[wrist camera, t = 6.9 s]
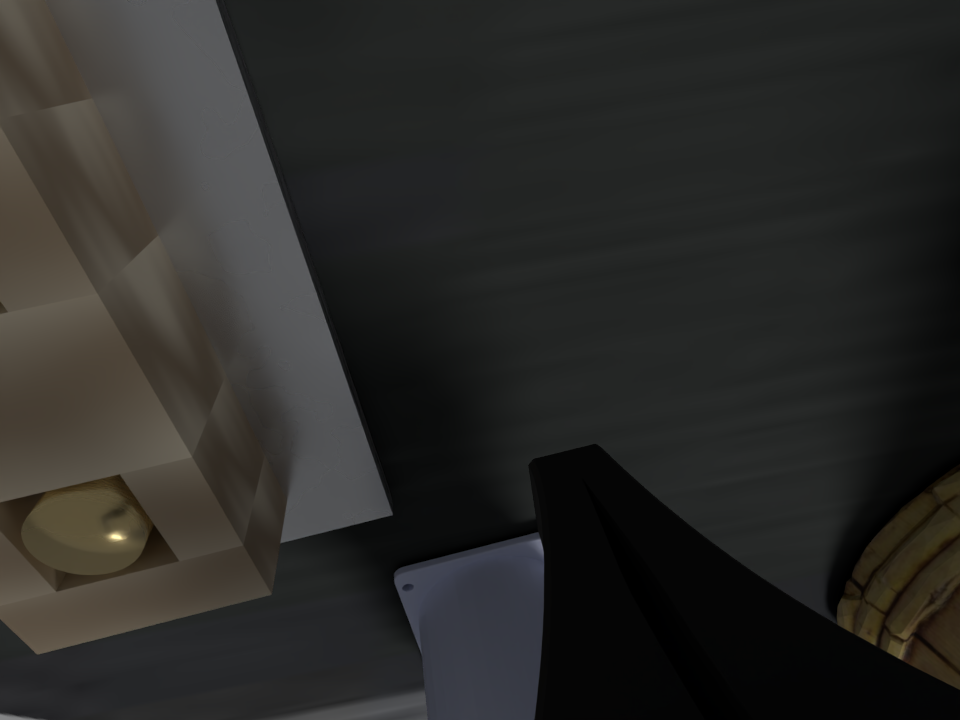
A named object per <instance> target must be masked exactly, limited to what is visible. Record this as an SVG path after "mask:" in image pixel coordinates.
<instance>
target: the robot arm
mask: <svg viewBox="0 0 960 720" xmlns="http://www.w3.org/2000/svg"><path fill="white" fill-rule="evenodd" d="M528 466H529V473H530V480H531V487H532V493H533V500H534V507H535V514H536V521H537V528H538V532H537V533H533V534H529V535H525V536H521V537H517V538H513V539H509V540H506V541H502V542H498V543H494V544H490V545H486V546H482V547H478V548H474V549H471V550H467V551H463V552H459V553H455V554H451V555H447V556H443V557H439V558H436V559H432V560H428V561H424V562H420V563H416V564H412V565H408V566H404V567H401V568H399V569H398V570H396V571H395V573H394V583H395V586H396V588H397V591H398V594H399V596H400V599H401V602H402V604H403V607H404V609H405V612H406V615H407V617H408V620H409V623H410V625H411V628H412V631H413V633H414V636H415V638H416V641H417V644H418V646H419V649H420V652H421V654H422V662H423V673H424V684H425V694H426V705H427V716H428V720H960V690H959V689H957V688H955V687H953V686H951V685H949V684H947V683H945V682H943V681H941V680H939V679H937V678H935V677H933V676H931V675H929V674H927V673H925V672H923V671H921V670H919V669H917V668H915V667H914V666H912V665H910V664H908V663H906V662H904V661H903V660H901V659H899V658H897V657H895V656H893V655H892V654H890V653H888V652H886V651H884V650H883V649H881V648H879V647H877V646H875V645H873V644H872V643H870V642H868V641H866V640H864V639H862V638H861V637H859V636H857V635H855V634H853V633H852V632H850V631H848V630H846V629H844V628H842V627H841V626H839V625H837V624H835V623H833V622H832V621H830V620H828V619H827V618H825V617H823V616H822V615H820V614H818V613H817V612H815V611H814V610H812V609H810V608H809V607H807V606H805V605H804V604H802V603H800V602H799V601H797V600H795V599H794V598H792V597H791V596H789V595H788V594H786V593H784V592H783V591H781V590H780V589H778V588H777V587H775V586H774V585H772V584H771V583H769V582H767V581H766V580H764V579H763V578H761V577H760V576H758V575H757V574H755V573H754V572H753V571H751V570H750V569H748V568H747V567H745V566H744V565H742V564H741V563H740V562H738V561H737V560H735V559H734V558H732V557H731V556H730V555H728V554H727V553H726V552H724V551H723V550H722V549H720V548H719V547H718V546H716V545H715V544H713V543H712V542H711V541H709V540H708V539H707V538H705V537H704V536H703V535H702V534H700V533H699V532H698V531H696V530H695V529H694V528H692V527H691V526H690V525H689V524H687V523H686V522H685V521H684V520H683V519H681V518H680V517H679V516H678V515H676V514H675V513H674V512H673V511H672V510H670V509H669V508H668V507H667V506H665V505H664V504H663V503H662V502H661V501H659V500H658V499H657V498H656V497H655V496H654V495H652V494H651V493H650V492H649V491H648V490H647V489H645V488H644V487H643V486H642V485H641V484H640V483H639V482H638V481H636V480H635V479H634V478H633V477H632V476H631V475H630V474H629V473H628V472H627V471H625V470H624V469H623V468H622V467H621V466H620V465H619V464H618V463H617V462H616V461H615V460H614V459H613V458H612V457H611V456H610V455H609V454H607V453H606V452H605V451H604V450H603V449H602V448H601V447H600V446H598V445H597V444H593V445H589V446H585V447H580V448H576V449H572V450H568V451H564V452H560V453H556V454H552V455H548V456H544V457H540V458H536V459H533V460H532V461H531V463H530V464H529V465H528Z"/></svg>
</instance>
